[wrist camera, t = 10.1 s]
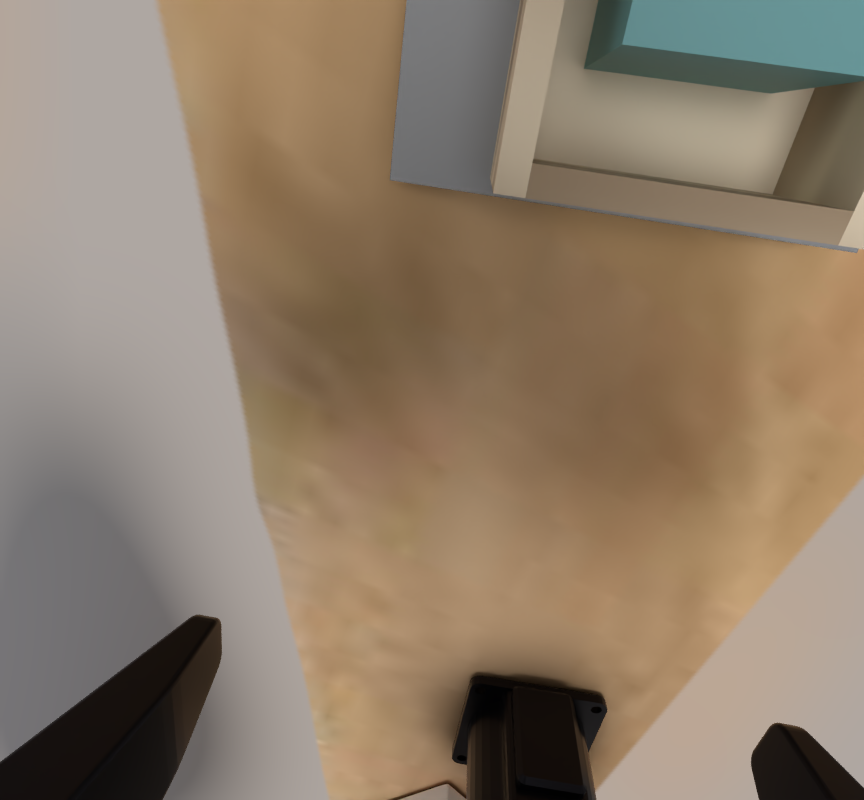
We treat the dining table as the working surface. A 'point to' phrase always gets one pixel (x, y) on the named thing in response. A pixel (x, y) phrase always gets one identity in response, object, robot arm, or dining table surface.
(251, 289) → the dining table surface
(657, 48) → the cargo block
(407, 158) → the block
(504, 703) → the robot arm
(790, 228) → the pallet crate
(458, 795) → the milk carton
